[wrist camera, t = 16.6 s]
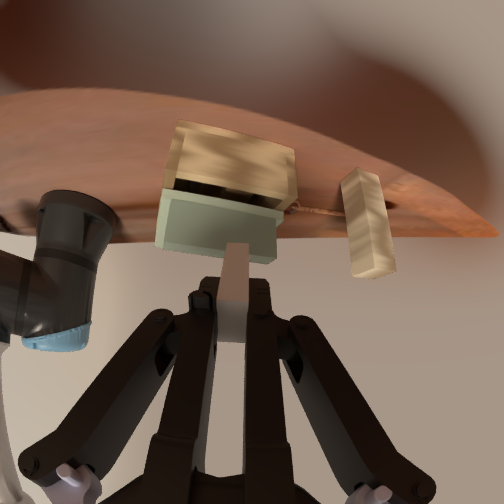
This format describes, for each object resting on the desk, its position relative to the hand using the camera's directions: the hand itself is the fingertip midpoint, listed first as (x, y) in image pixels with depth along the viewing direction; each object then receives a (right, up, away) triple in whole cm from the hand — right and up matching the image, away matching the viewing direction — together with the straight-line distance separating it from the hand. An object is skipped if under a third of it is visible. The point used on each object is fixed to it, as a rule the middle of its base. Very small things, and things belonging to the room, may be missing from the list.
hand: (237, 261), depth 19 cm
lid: (-4, +3, +11) cm, 13 cm away
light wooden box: (-3, +10, +11) cm, 15 cm away
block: (+14, +10, +12) cm, 21 cm away
